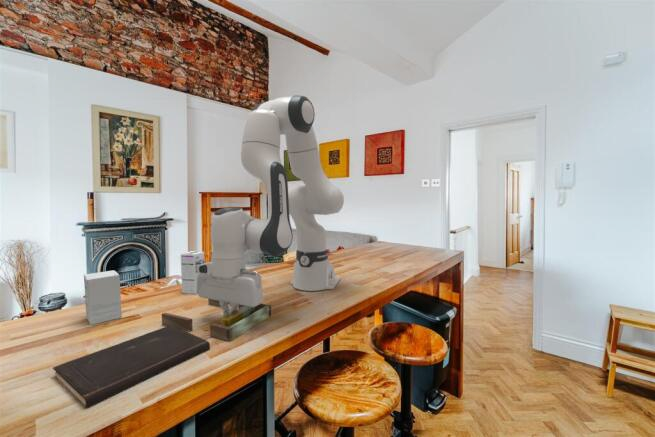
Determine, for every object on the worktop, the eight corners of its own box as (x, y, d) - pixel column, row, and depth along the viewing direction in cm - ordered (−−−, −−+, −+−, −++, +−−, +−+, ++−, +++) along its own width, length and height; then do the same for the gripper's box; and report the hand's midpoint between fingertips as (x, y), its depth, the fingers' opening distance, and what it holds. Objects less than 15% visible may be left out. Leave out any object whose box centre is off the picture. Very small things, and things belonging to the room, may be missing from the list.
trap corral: (220, 299, 100) (220, 290, 100) (279, 309, 91) (279, 300, 91) (162, 324, 80) (161, 313, 80) (229, 341, 71) (229, 329, 71)
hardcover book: (53, 378, 57) (52, 367, 57) (171, 333, 76) (171, 324, 76) (86, 412, 48) (85, 398, 48) (210, 351, 68) (210, 341, 67)
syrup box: (196, 294, 105) (195, 253, 104) (181, 293, 106) (180, 253, 105) (205, 289, 111) (204, 251, 110) (191, 288, 112) (190, 250, 111)
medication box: (249, 316, 87) (248, 302, 87) (257, 317, 86) (256, 303, 86) (220, 333, 76) (219, 318, 76) (229, 335, 75) (228, 319, 75)
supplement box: (117, 310, 90) (115, 269, 89) (122, 318, 84) (120, 274, 83) (85, 317, 84) (83, 273, 83) (88, 325, 79) (86, 279, 78)
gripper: (267, 268, 80) (267, 319, 80) (209, 261, 88) (210, 307, 88) (253, 274, 74) (253, 328, 75) (191, 265, 82) (193, 315, 83)
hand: (229, 316), depth 82 cm, fingers closed
